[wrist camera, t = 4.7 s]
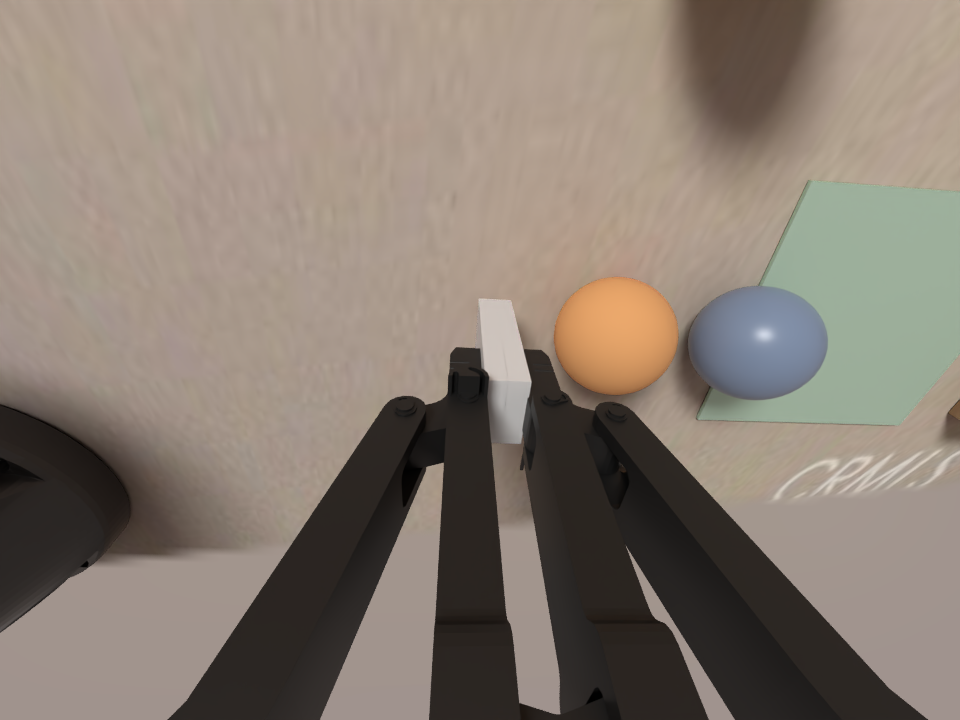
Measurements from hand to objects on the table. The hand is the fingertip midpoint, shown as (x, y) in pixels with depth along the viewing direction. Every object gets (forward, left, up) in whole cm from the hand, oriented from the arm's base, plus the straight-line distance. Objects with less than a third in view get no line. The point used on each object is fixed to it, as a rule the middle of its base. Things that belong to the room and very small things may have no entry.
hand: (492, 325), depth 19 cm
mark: (+21, 0, -2) cm, 21 cm away
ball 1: (+6, 0, +1) cm, 6 cm away
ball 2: (+13, 0, +1) cm, 13 cm away
